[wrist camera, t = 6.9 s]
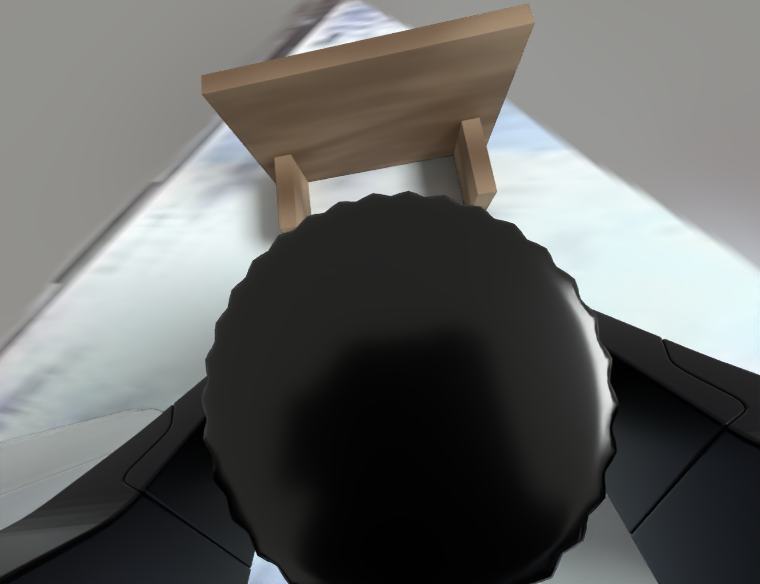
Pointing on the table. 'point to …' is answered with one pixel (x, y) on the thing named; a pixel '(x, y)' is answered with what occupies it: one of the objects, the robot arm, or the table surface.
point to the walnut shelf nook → (376, 105)
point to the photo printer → (59, 459)
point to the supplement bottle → (409, 399)
